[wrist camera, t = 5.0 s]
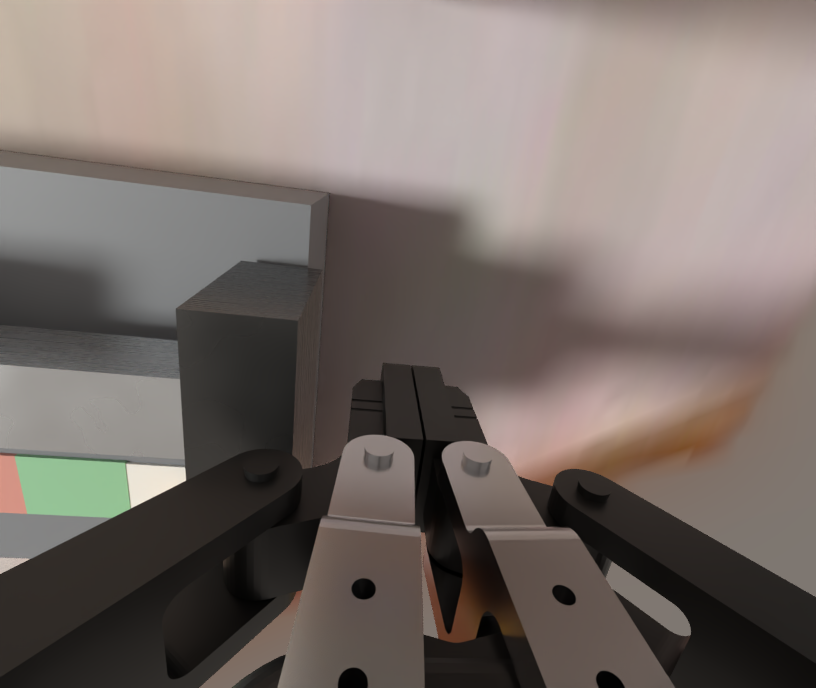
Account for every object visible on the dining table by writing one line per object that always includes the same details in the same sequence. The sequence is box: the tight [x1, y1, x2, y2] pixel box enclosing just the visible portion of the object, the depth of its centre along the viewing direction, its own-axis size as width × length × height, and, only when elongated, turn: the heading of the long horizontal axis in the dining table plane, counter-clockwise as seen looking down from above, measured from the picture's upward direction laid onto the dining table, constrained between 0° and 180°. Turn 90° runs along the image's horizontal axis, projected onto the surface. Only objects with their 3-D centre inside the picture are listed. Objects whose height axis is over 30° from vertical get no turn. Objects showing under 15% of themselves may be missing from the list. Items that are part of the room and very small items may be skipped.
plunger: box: [0, 261, 323, 480], centre depth 11 cm, size 9×11×4 cm
